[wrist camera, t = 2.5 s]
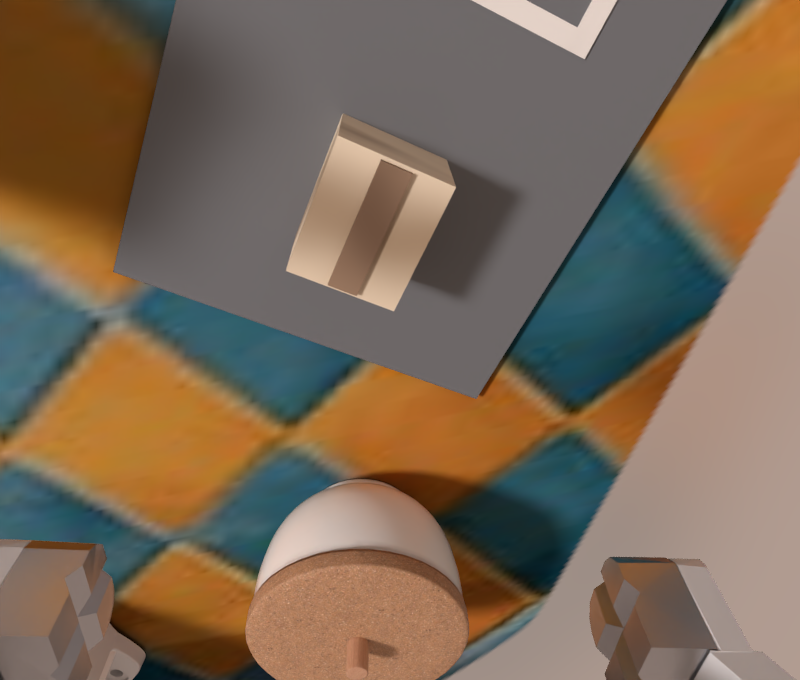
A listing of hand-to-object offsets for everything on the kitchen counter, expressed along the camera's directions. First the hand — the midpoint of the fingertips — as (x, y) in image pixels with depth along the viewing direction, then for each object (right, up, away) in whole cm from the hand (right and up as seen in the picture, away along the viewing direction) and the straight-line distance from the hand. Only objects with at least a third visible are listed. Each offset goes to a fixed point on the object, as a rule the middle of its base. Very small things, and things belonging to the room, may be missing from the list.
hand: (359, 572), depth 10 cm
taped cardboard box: (-1, +10, +16) cm, 19 cm away
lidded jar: (-2, -6, +26) cm, 27 cm away
